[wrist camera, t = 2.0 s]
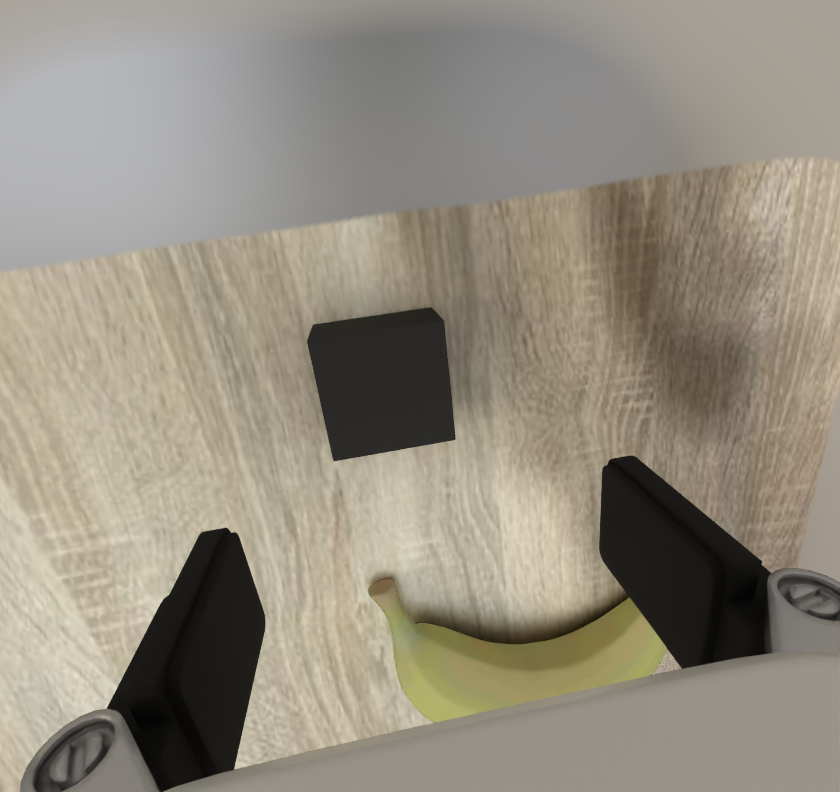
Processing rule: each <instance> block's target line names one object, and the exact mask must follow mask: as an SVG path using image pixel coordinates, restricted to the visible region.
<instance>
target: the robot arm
mask: <svg viewBox="0 0 840 792" xmlns="http://www.w3.org/2000/svg"><path fill="white" fill-rule="evenodd" d="M599 550H600V555H601V557H602V560H603V562H604V563H605V565H606V566H607V567H608V569H609V570H610V571H611V573H612V574H613V575H614V577H615V578H616V580H617V581H618V582H619V584H620V585H621V586H622V588H623V589H624V590H625V592H626V593H627V594H628V596H629V597H630V599H631V600H632V601H633V603H634V604H635V605H636V607H637V608H638V609H639V611H640V612H641V613H642V615H643V616H644V618H645V619H646V620H647V622H648V623H649V624H650V626H651V627H652V628H653V630H654V631H655V632H656V634H657V635H658V637H659V638H660V639H661V641H662V642H663V643H664V645H665V646H666V647H667V649H668V650H669V651H670V653H671V654H672V656H673V657H674V658H675V660H676V661H677V662H678V664H679V665H680V666H681V668H682V669H679V670H674V671H669V672H665V673H660V674H655V675H651V676H646V677H641V678H637V679H632V680H627V681H623V682H618V683H614V684H609V685H604V686H600V687H595V688H590V689H586V690H581V691H576V692H572V693H567V694H563V695H558V696H553V697H549V698H544V699H540V700H535V701H531V702H526V703H522V704H517V705H513V706H508V707H504V708H499V709H495V710H490V711H486V712H481V713H477V714H472V715H468V716H463V717H459V718H454V719H450V720H445V721H441V722H436V723H432V724H427V725H423V726H418V727H414V728H410V729H405V730H401V731H397V732H392V733H388V734H383V735H379V736H375V737H370V738H366V739H362V740H357V741H353V742H348V743H344V744H340V745H335V746H331V747H327V748H322V749H318V750H313V751H309V752H305V753H300V754H296V755H292V756H288V757H284V758H280V759H276V760H272V761H268V762H264V763H260V764H256V765H252V766H248V767H244V768H240V769H236V770H234V767H235V762H236V758H237V753H238V749H239V744H240V740H241V735H242V731H243V726H244V722H245V717H246V713H247V708H248V704H249V699H250V695H251V690H252V686H253V681H254V677H255V672H256V668H257V663H258V659H259V654H260V650H261V645H262V641H263V636H264V632H265V614H264V611H263V608H262V605H261V602H260V599H259V596H258V593H257V590H256V587H255V584H254V581H253V578H252V575H251V572H250V569H249V566H248V563H247V560H246V557H245V554H244V551H243V548H242V544H241V541H240V538H239V536H238V534H237V533H236V532H234V533H231V532H230V531H229V529H228V528H222V529H216V530H211V531H205V532H202V533H201V534H200V535H199V537H198V539H197V541H196V543H195V545H194V547H193V549H192V551H191V553H190V555H189V557H188V559H187V561H186V563H185V565H184V567H183V569H182V571H181V573H180V575H179V577H178V579H177V581H176V583H175V585H174V587H173V589H172V591H171V593H170V595H169V596H167V597H166V598H164V600H163V601H162V603H161V604H160V606H159V608H158V610H157V612H156V614H155V616H154V618H153V620H152V621H151V623H150V625H149V627H148V629H147V631H146V633H145V635H144V637H143V639H142V641H141V643H140V645H139V647H138V649H137V651H136V653H135V655H134V657H133V659H132V660H131V662H130V664H129V666H128V668H127V670H126V672H125V674H124V676H123V678H122V680H121V682H120V684H119V686H118V688H117V690H116V692H115V694H114V696H113V698H112V699H111V701H110V703H109V705H108V707H107V709H103V710H95V711H93V712H90V713H88V714H85V715H82V716H80V717H79V718H77V719H75V720H74V721H72V722H70V723H68V724H67V725H65V726H64V727H63V728H62V729H60V730H59V731H58V732H57V733H55V734H54V735H53V736H52V737H51V738H50V739H49V740H48V741H47V742H46V743H45V744H44V745H43V746H42V747H41V748H40V749H39V750H38V752H37V753H36V754H35V756H34V757H33V759H32V760H31V762H30V763H29V765H28V766H27V768H26V771H25V773H24V776H23V778H22V781H21V789H20V792H840V582H838V581H836V580H834V579H832V578H830V577H828V576H826V575H823V574H820V573H817V572H814V571H810V570H805V569H799V568H783V569H779V570H776V571H774V572H773V573H770V572H769V571H768V570H767V569H766V568H765V567H763V566H762V565H761V564H762V561H761V560H760V559H758V558H757V557H756V556H755V555H753V554H752V553H751V552H750V551H749V550H747V549H746V548H745V547H744V546H743V545H741V544H740V543H739V542H738V541H737V540H735V539H734V538H733V537H732V536H731V535H729V534H728V533H727V532H726V531H725V530H723V529H722V528H721V527H720V526H718V525H717V524H716V523H715V522H714V521H712V520H711V519H710V518H709V517H708V516H706V515H705V514H704V513H703V512H702V511H700V510H699V509H698V508H697V507H696V506H694V505H693V504H692V503H691V502H690V501H688V500H687V499H686V498H685V497H683V496H682V495H681V494H680V493H679V492H677V491H676V490H675V489H674V488H673V487H671V486H670V485H669V484H668V483H667V482H665V481H664V480H663V479H662V478H661V477H659V476H658V475H657V474H656V473H655V472H653V471H652V470H651V469H650V468H648V467H647V466H646V465H645V464H644V463H642V462H641V461H640V460H639V459H638V458H636V457H635V456H625V457H620V458H614V459H611V460H609V462H608V465H607V466H604V467H603V470H602V492H601V517H600V542H599Z"/></svg>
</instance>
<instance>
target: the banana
mask: <svg viewBox="0 0 840 792" xmlns="http://www.w3.org/2000/svg"><path fill="white" fill-rule="evenodd" d="M368 592H369V595H370V597H371V598H372V599H373V600H374V601H375V602H376V603H377V604H378V605H379V606H380V608H381V609H382V610H383V612H384V613H385V615H386V617H387V619H388V621H389V624H390V628H391V632H392V636H393V642H394V659H395V665H396V670H397V674H398V678H399V682H400V684H401V687H402V689H403V691H404V693H405V695H406V696H407V698H408V699H409V700H410V702H411V703H412V704H413V705H414V707H415V708H416V709H417V710H418V711H419V712H420V713H421V714H422V715H424V716H425V717H426V718H428V719H429V720H431V721H432V722H434V723H436V722H441V721H445V720H450V719H454V718H459V717H463V716H468V715H472V714H477V713H481V712H486V711H490V710H495V709H499V708H504V707H508V706H513V705H517V704H522V703H526V702H531V701H535V700H540V699H544V698H549V697H553V696H558V695H563V694H567V693H572V692H576V691H581V690H586V689H590V688H595V687H600V686H604V685H609V684H614V683H618V682H623V681H627V680H632V679H637V678H641V677H646V676H651V675H652V674H653V672H654V671H655V670H656V668H657V667H658V665H659V664H660V662H661V660H662V658H663V656H664V654H665V652H666V650H667V647H666V646H665V645H664V643H663V642H662V641H661V639H660V638H659V637H658V635H657V634H656V632H655V631H654V630H653V628H652V627H651V626H650V624H649V623H648V622H647V620H646V619H645V618H644V616H643V615H642V613H641V612H640V611H639V609H638V608H637V607H636V605H635V604H634V603H633V601H632V600H631V599H630V597H629V598H628V599H626V600H625V601H623V602H622V603H621V604H619V605H618V606H616V607H615V608H614V609H612V610H611V611H609V612H608V613H606V614H605V615H603V616H602V617H600V618H599V619H597V620H595V621H594V622H592V623H590V624H588V625H586V626H584V627H582V628H580V629H578V630H576V631H574V632H572V633H569V634H567V635H564V636H561V637H558V638H555V639H551V640H547V641H541V642H534V643H527V644H501V643H493V642H487V641H482V640H479V639H476V638H473V637H470V636H467V635H465V634H462V633H459V632H456V631H454V630H451V629H448V628H445V627H441V626H437V625H433V624H428V623H417V624H415V623H413V622H412V621H411V619H410V618H409V617H408V616H407V614H406V613H405V612H404V610H403V608H402V606H401V603H400V600H399V597H398V593H397V589H396V586H395V582H394V580H392V579H383V580H379V581H377V582H376V583H374V584H373V585H371V586H370V587H369V589H368Z"/></svg>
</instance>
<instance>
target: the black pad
mask: <svg viewBox="0 0 840 792" xmlns="http://www.w3.org/2000/svg"><path fill="white" fill-rule="evenodd" d="M307 343H308V347H309V352H310V357H311V361H312V366H313V370H314V375H315V379H316V384H317V388H318V393H319V398H320V402H321V407H322V411H323V416H324V420H325V425H326V429H327V434H328V439H329V443H330V448H331V452H332V457H333V460H334V461H338V460H344V459H350V458H355V457H361V456H367V455H372V454H378V453H384V452H389V451H395V450H400V449H406V448H412V447H417V446H423V445H429V444H434V443H440V442H446V441H451V440H455V439H456V438H455V428H454V418H453V408H452V398H451V388H450V378H449V368H448V358H447V348H446V337H445V327H444V320H443V319H442V318H441V317H440V316H439V315H438V314H437V313H436V312H435V311H434V310H433V309H432V308H424V309H417V310H411V311H404V312H397V313H390V314H383V315H377V316H370V317H363V318H356V319H350V320H343V321H336V322H329V323H323V324H316V325H313V326H312V329H311V332H310V335H309V337H308V340H307Z"/></svg>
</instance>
